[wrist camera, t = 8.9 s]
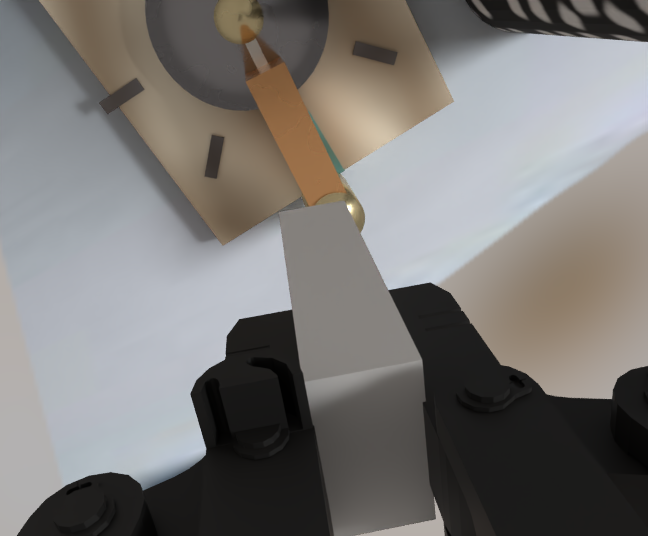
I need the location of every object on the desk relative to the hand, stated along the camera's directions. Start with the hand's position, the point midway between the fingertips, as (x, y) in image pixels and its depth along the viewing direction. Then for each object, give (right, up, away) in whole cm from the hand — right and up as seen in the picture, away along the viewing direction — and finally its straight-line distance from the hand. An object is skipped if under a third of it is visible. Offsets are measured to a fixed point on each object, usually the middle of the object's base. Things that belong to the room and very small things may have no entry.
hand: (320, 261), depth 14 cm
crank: (-3, +10, +18) cm, 21 cm away
